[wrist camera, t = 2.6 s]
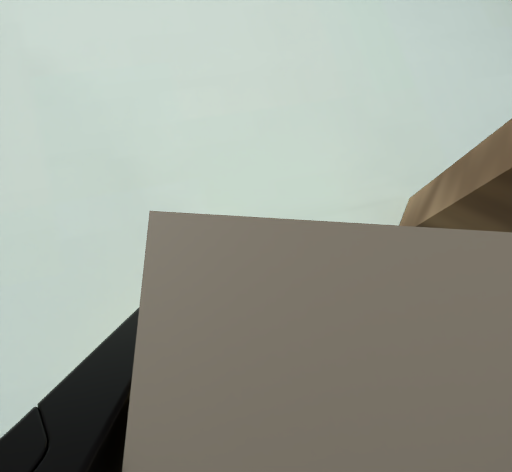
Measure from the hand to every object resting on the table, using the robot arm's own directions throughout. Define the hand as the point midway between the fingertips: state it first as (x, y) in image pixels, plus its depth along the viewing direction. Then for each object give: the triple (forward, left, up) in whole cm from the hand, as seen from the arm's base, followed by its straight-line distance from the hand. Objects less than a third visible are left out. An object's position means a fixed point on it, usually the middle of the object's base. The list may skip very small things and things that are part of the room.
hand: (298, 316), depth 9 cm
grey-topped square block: (-1, 0, -7) cm, 7 cm away
